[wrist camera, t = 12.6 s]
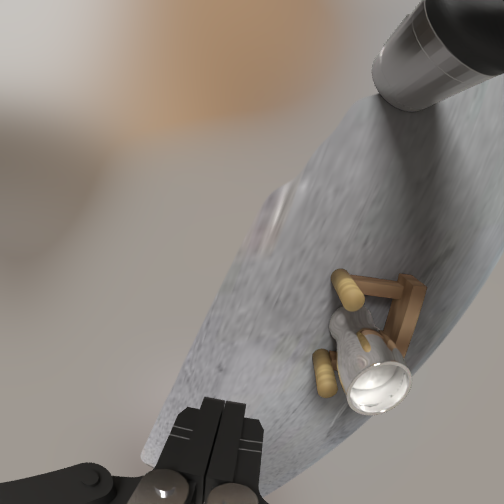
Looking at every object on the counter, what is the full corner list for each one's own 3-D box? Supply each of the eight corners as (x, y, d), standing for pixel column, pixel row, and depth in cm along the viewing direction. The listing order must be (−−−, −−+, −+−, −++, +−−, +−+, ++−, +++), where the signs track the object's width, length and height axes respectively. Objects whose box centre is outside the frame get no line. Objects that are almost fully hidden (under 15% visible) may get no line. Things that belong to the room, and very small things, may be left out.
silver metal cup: (340, 291, 39) (370, 350, 24) (384, 310, 39) (427, 370, 24) (316, 336, 40) (330, 408, 26) (359, 351, 40) (387, 422, 26)
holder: (333, 263, 38) (346, 283, 30) (411, 275, 37) (438, 295, 29) (310, 365, 41) (314, 400, 33) (381, 370, 41) (397, 403, 33)
